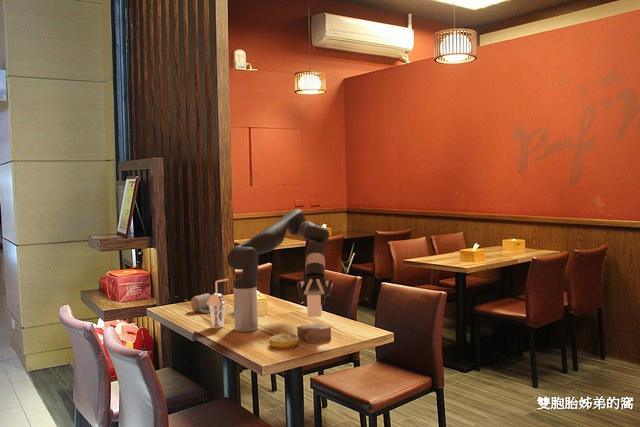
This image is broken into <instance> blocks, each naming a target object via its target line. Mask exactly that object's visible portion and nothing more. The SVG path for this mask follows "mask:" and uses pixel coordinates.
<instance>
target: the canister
mask: <svg viewBox="0 0 640 427" xmlns="http://www.w3.org/2000/svg"><path fill="white" fill-rule="evenodd" d="M322 307H323V306H321V290H309V291H307V306H306V309H307V317H308V318H309V317H310V318H311V317H314V318H317V317H322V315H323V312H322V310H323V308H322Z"/></svg>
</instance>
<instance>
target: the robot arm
mask: <svg viewBox="0 0 640 427" xmlns="http://www.w3.org/2000/svg"><path fill="white" fill-rule="evenodd" d="M287 231H288V233H289V234H290V235H291V236H295V237H296V236H297V237H302V238H303V239H304V240H305V241H308V242H311V243H309V244H308V245H307V248H306V260H305V265H304V266H305V274H304V279H303V280H301V281H300V280H297V281H296V285H297V289H298V293H299V294H298V295H299V297H300V298H303V304H304V305H303V306H305V307H307V291H309V290H321V306H322V307H323V306H324V305H325V301H326V297H330V295H331V291H332V288H333V285H334V284H333V283H334V282H333V280H332V279H329V280H326V278H325V277H326V274H325V273H326V259H325V251H326V246H327V243H328V241H329V239H330V232H329V230H328V229H327V227H324V226H323V227H322V226H320V225H317V224H316V223H314V222H312V221H309V220H307V219H306V217H305V214H304V212H303V210H302V209H300V208H295V209H292V210H290V211H288V212H287V213H285V214H284V215H283V216H282V217H280V219H278V220H277V221H276V222H274V223H272V224H271V225H269V226H268V227H266V228H265V229H263V230H261V231H260V232H259V233H257V234H256V235H254V236H253V237H251V238H249V239H248V240H247V241H245V242H243V243H240V244H238V245H236V246H234V247H233V248H231V249H230V251H229V252H228V254H227V257H226V263H227V265H228V266H229V267H230V268H232V269H234V270H239V271H240V270H241V271H242V273H241V276H240V277H238V278H235V279H234V280H233V282H232V283H233V286H232V287H233V289H232V290H233V320H234V321H233V323H234V325H233V326H234V330H235V331H236V332H239V333H248V332H249V333H250V332H254V331H257V330H259V322H258V321H259V320H258V318H259V317H258V316H259V314H258V290H257V289H258V288H257V287H258V286H257V282H258V279H259V278H258V277H259V255H261V254H266V253H268V252H271V251H273V250H275V249H277V247H278V246H280V245H281V244H282V243H283V242H284V240H285V237H286V235H287ZM325 285H326V291H324V288H323V287H325ZM303 286H305V290H304V291H303V289H302V288H303Z"/></svg>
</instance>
